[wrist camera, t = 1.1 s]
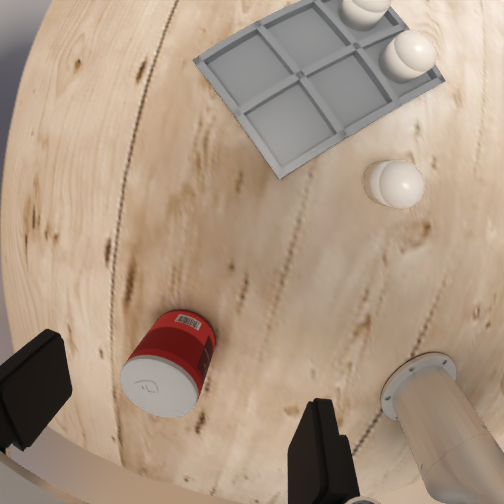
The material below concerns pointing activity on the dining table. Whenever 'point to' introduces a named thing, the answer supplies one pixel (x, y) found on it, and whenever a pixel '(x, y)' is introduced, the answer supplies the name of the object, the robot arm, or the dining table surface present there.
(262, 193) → the dining table surface
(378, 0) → the seated egg
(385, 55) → the seated egg
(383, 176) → the loose egg
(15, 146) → the dining table surface
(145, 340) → the canned food
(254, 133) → the egg carton
